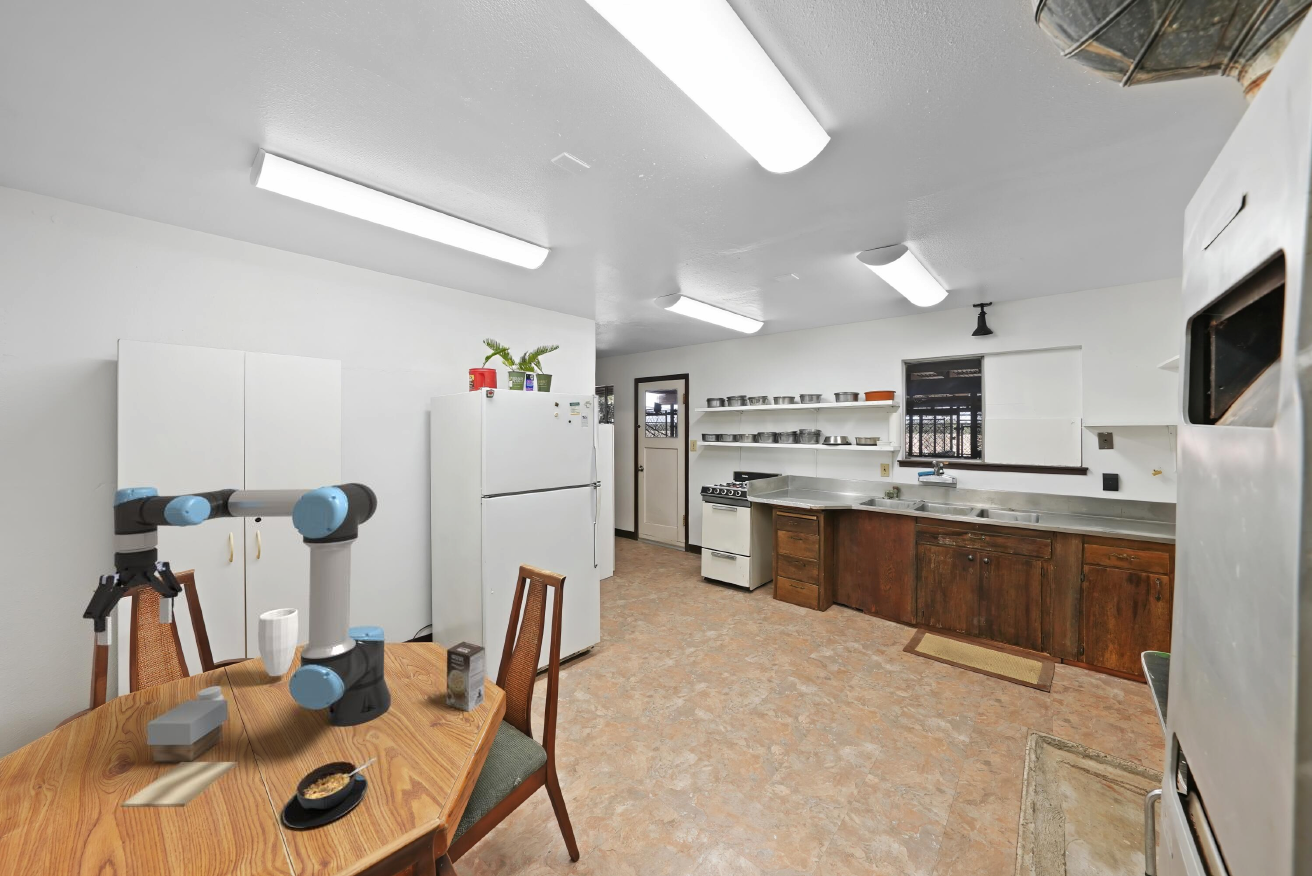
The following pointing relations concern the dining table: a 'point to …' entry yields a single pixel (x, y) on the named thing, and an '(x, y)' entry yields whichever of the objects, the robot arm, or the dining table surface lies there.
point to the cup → (278, 639)
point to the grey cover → (187, 722)
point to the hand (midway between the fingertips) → (136, 633)
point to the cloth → (180, 784)
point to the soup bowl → (325, 794)
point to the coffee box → (465, 676)
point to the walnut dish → (186, 749)
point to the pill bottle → (210, 694)
